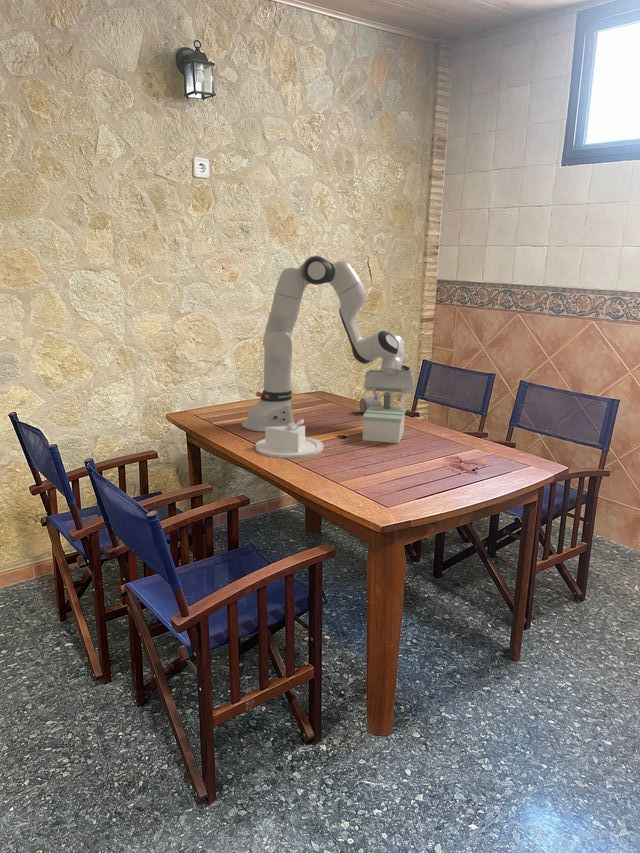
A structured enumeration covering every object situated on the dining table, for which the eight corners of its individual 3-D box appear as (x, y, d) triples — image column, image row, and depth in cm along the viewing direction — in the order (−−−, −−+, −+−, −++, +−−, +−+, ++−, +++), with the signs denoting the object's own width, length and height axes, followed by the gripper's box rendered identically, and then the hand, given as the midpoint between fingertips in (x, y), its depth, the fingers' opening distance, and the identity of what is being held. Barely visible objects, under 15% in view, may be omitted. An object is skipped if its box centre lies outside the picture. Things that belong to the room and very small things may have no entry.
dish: (328, 441, 241) (329, 412, 238) (315, 461, 217) (315, 429, 215) (266, 436, 246) (266, 408, 243) (246, 456, 222) (246, 425, 219)
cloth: (447, 455, 228) (447, 449, 227) (508, 466, 217) (508, 459, 216) (426, 470, 211) (426, 464, 210) (490, 483, 200) (491, 476, 199)
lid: (400, 426, 237) (401, 403, 235) (362, 423, 240) (362, 401, 238) (405, 414, 254) (406, 393, 252) (369, 412, 258) (370, 391, 255)
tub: (399, 443, 239) (400, 422, 237) (362, 440, 242) (363, 420, 240) (403, 430, 256) (404, 411, 254) (369, 428, 259) (370, 409, 257)
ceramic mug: (358, 411, 287) (358, 395, 284) (374, 410, 289) (375, 394, 287) (368, 417, 277) (368, 400, 275) (384, 416, 280) (385, 399, 278)
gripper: (365, 365, 258) (361, 393, 252) (415, 368, 254) (412, 396, 247) (366, 374, 264) (362, 402, 257) (416, 376, 259) (412, 405, 253)
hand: (387, 399), depth 252 cm, fingers open, 8 cm apart
